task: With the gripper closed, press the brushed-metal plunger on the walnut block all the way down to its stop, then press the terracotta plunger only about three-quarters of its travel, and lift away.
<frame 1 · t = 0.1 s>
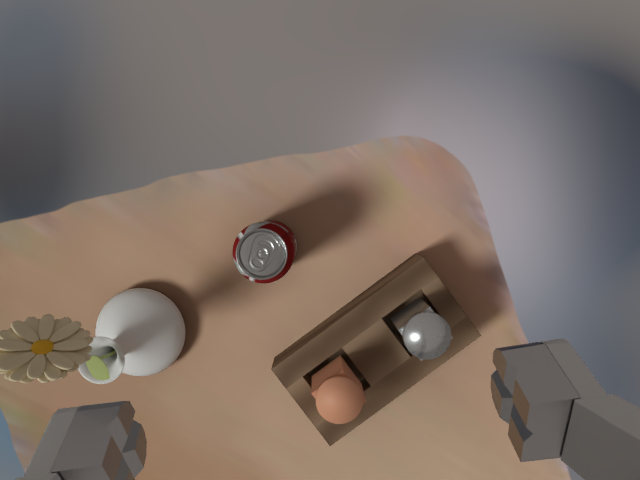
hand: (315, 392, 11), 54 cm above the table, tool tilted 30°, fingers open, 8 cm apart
terracotta plunger: (337, 389, 59), point 8 cm above the table, slide at 0.0 cm
metal plunger: (420, 328, 58), point 8 cm above the table, slide at 0.0 cm
soda can: (271, 246, 66), on the table
walnut block: (371, 341, 66), on the table
flower in vase: (140, 324, 66), on the table
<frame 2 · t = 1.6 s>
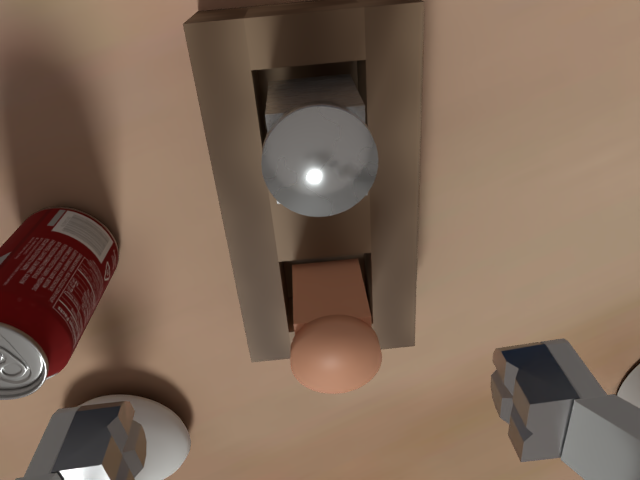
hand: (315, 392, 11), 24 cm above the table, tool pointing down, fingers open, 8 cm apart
terracotta plunger: (331, 321, 32), point 8 cm above the table, slide at 0.0 cm
metal plunger: (316, 138, 25), point 8 cm above the table, slide at 0.0 cm
soda can: (74, 242, 37), on the table
walnut block: (316, 182, 35), on the table
flower in vase: (123, 426, 47), on the table
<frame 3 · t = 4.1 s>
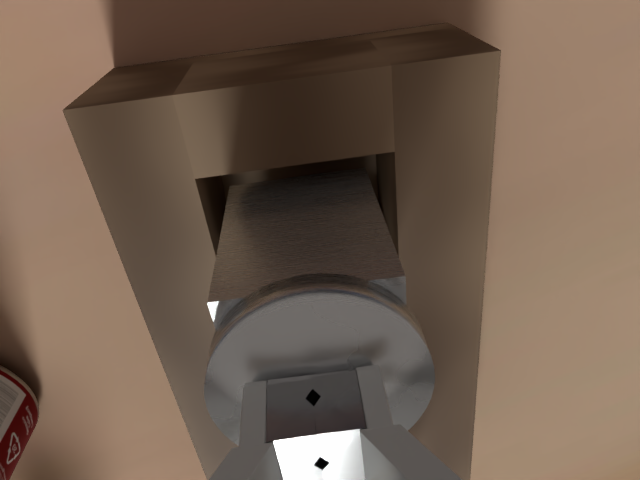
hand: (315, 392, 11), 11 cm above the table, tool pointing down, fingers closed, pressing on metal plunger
metal plunger: (312, 297, 14), point 8 cm above the table, slide at 0.3 cm, touching gripper
walnut block: (318, 298, 24), on the table
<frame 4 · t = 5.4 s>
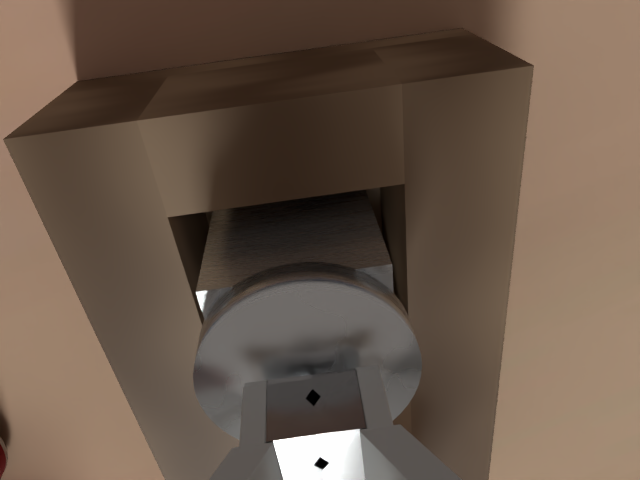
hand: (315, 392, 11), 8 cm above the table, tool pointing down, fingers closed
metal plunger: (301, 287, 14), point 5 cm above the table, slide at 3.1 cm
walnut block: (314, 331, 22), on the table
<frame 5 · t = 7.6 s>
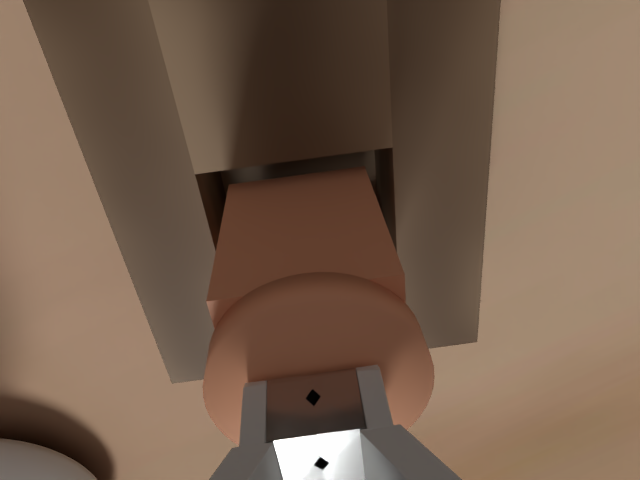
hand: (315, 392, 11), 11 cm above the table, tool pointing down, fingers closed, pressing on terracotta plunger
terracotta plunger: (311, 296, 14), point 8 cm above the table, slide at 0.0 cm, touching gripper
walnut block: (277, 27, 18), on the table
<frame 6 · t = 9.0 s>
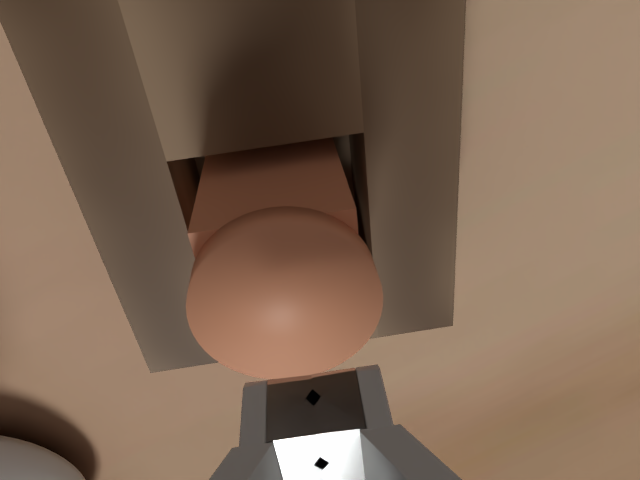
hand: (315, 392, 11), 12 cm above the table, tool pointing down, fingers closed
terracotta plunger: (281, 240, 16), point 6 cm above the table, slide at 2.2 cm
walnut block: (249, 14, 18), on the table
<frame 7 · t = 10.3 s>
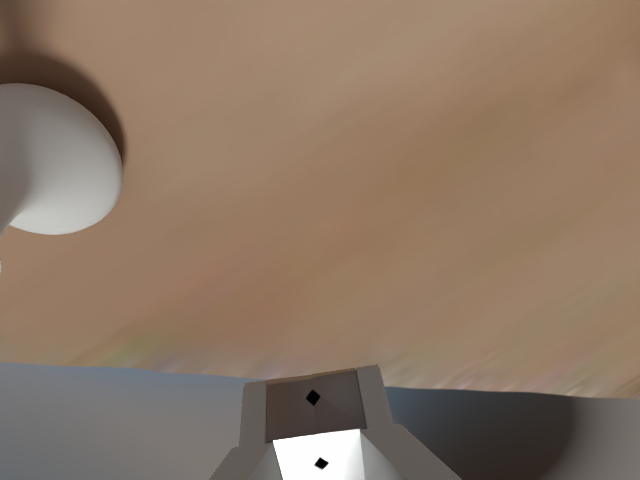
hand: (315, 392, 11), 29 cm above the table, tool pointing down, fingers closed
flower in vase: (40, 158, 38), on the table
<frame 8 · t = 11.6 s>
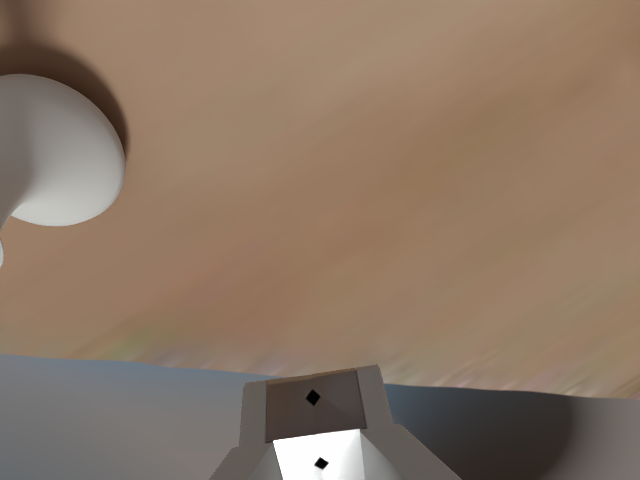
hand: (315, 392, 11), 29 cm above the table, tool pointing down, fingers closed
flower in vase: (43, 149, 38), on the table
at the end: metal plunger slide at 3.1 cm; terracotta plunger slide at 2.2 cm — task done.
